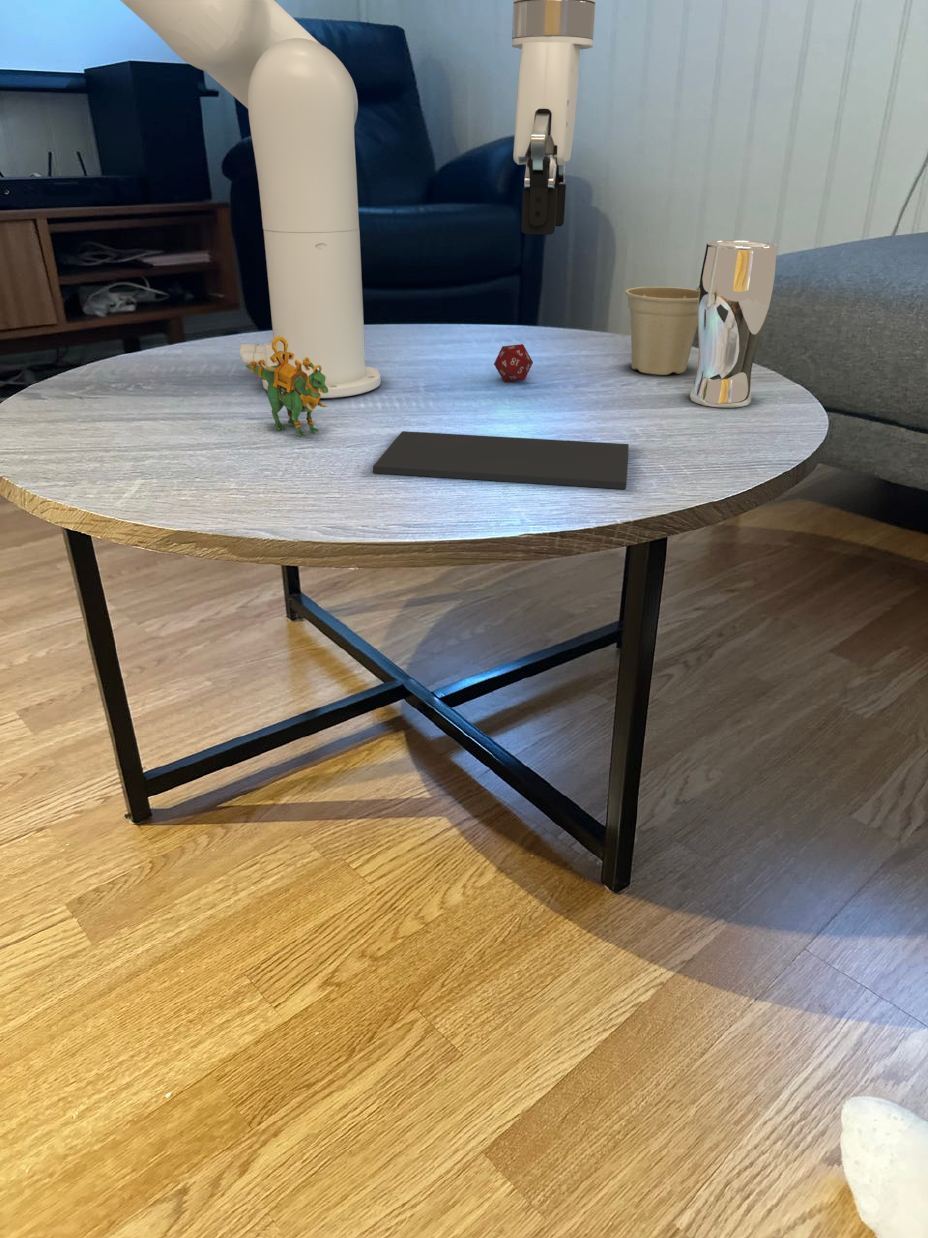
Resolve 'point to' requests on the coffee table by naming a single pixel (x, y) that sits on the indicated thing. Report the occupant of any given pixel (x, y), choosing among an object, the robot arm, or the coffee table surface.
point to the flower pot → (662, 328)
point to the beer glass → (731, 319)
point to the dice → (513, 363)
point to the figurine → (291, 386)
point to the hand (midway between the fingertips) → (543, 229)
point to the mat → (507, 459)
